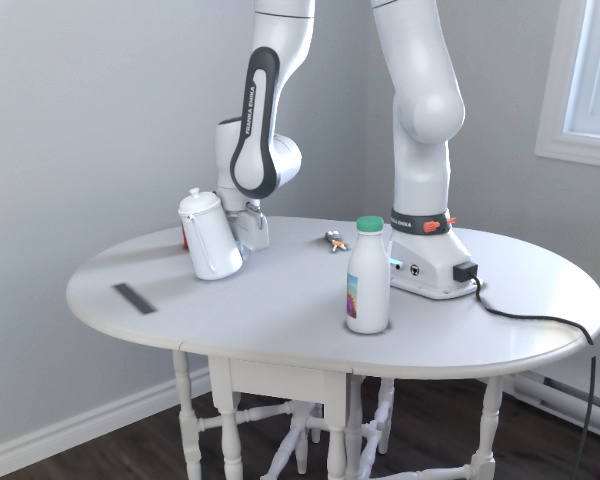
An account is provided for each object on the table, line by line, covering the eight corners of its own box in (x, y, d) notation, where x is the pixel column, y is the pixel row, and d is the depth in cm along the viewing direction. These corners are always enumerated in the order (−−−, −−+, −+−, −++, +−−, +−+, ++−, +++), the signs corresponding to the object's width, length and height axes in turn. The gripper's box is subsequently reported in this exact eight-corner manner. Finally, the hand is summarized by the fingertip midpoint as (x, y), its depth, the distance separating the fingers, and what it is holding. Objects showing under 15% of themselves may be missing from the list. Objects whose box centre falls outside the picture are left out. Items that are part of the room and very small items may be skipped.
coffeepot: (188, 301, 134) (157, 215, 123) (203, 254, 154) (178, 177, 143) (238, 291, 132) (211, 203, 122) (247, 245, 153) (224, 166, 142)
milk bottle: (392, 319, 121) (397, 213, 110) (383, 337, 115) (387, 226, 104) (352, 315, 123) (354, 211, 113) (341, 332, 117) (342, 223, 106)
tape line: (153, 310, 128) (153, 310, 128) (144, 313, 127) (144, 312, 127) (123, 284, 141) (123, 283, 141) (114, 286, 140) (114, 285, 140)
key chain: (323, 236, 166) (323, 230, 165) (337, 235, 166) (337, 229, 165) (332, 252, 155) (332, 246, 154) (348, 251, 155) (348, 245, 154)
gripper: (274, 206, 132) (277, 270, 139) (232, 186, 147) (236, 245, 154) (247, 211, 129) (251, 276, 136) (207, 190, 144) (212, 249, 152)
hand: (243, 259), depth 145 cm, fingers closed, pressing on coffeepot
